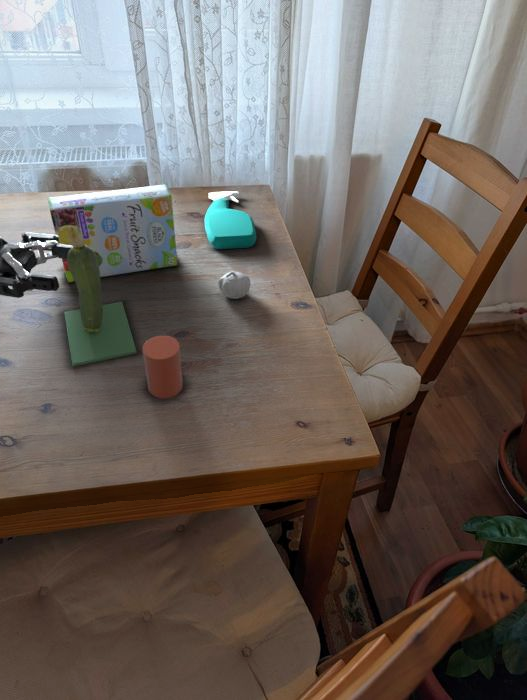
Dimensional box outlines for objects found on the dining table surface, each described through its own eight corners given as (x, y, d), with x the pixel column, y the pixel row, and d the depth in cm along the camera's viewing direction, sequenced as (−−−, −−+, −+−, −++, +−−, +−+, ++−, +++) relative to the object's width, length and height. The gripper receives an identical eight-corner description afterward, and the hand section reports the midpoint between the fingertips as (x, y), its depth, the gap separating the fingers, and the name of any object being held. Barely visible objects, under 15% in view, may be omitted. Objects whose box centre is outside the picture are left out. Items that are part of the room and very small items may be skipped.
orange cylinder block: (173, 402, 77) (169, 363, 72) (141, 393, 78) (135, 353, 73) (188, 379, 81) (185, 340, 76) (158, 370, 82) (153, 331, 77)
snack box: (171, 252, 108) (165, 182, 98) (177, 266, 104) (172, 195, 94) (64, 268, 102) (46, 195, 92) (67, 283, 98) (48, 210, 88)
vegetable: (94, 320, 90) (70, 213, 76) (116, 326, 89) (96, 218, 75) (79, 335, 87) (51, 226, 73) (101, 341, 86) (78, 232, 72)
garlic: (220, 305, 95) (220, 281, 92) (216, 288, 99) (216, 264, 96) (253, 302, 96) (253, 278, 93) (247, 285, 100) (248, 262, 97)
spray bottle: (208, 250, 109) (199, 199, 127) (259, 248, 111) (243, 198, 129) (207, 238, 107) (199, 187, 125) (260, 235, 109) (244, 186, 127)
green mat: (136, 353, 85) (136, 350, 84) (72, 366, 82) (72, 364, 81) (122, 304, 94) (122, 301, 94) (64, 314, 91) (64, 311, 91)
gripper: (-69, 260, 73) (43, 272, 72) (-15, 213, 84) (83, 223, 83) (-50, 303, 78) (55, 315, 77) (-1, 253, 89) (91, 264, 88)
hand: (69, 268), depth 80 cm, fingers open, 8 cm apart
